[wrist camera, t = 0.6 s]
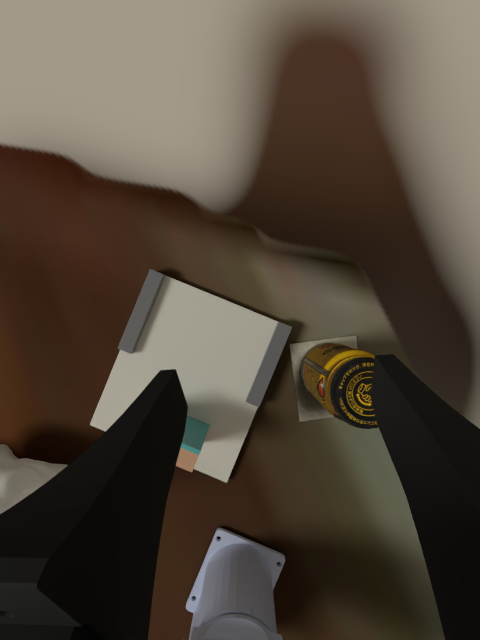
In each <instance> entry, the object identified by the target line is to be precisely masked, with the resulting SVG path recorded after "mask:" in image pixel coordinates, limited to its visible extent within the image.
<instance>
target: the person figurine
mask: <svg viewBox="0 0 480 640" xmlns="http://www.w3.org/2000/svg"><path fill="white" fill-rule="evenodd" d="M67 466H68V465H66V464H51V463H48V462H44V461H39V460H33V459H28V458H22V459H18V458H17V457H16V456H15V455H14V454H13V452H12V451H11V450H10V448H9V447H8V446H7V445H4V444H0V514H1V513H3V512H5V511H6V510H8V509H9V508H11V507H12V506H14V505H15V504H17V503H18V502H20V501H21V500H23V499H24V498H25V497H27V496H28V495H30V494H31V493H33V492H34V491H35V490H37V489H38V488H39V487H41V486H42V485H44V484H45V483H46V482H48V481H49V480H50V479H52V478H53V477H54V476H55V475H57V474H58V473H59V472H60V471H62V470H63V469H64V468H65V467H67Z"/></svg>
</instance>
